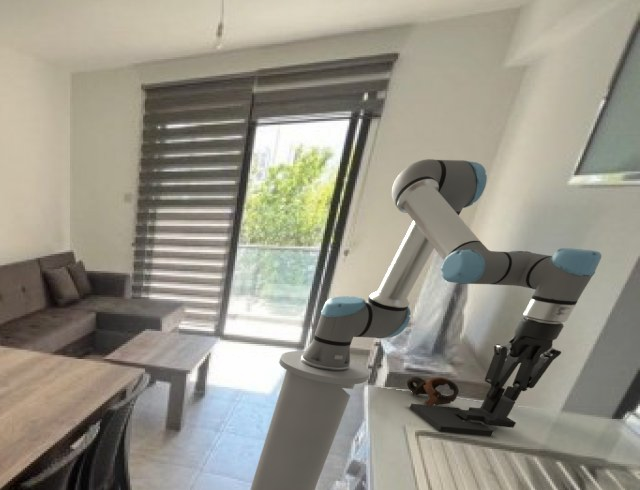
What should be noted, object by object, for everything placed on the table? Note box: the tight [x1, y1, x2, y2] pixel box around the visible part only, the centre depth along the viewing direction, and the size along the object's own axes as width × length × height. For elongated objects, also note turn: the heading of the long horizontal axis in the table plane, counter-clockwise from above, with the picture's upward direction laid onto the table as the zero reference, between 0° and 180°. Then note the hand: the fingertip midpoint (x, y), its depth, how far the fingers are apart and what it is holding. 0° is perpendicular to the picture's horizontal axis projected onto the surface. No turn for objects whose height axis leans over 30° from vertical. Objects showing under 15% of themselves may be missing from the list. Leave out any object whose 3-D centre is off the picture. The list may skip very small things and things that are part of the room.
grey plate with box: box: [458, 395, 517, 429], centre depth 122 cm, size 8×10×6 cm
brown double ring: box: [406, 376, 459, 406], centre depth 136 cm, size 12×10×8 cm
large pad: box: [409, 403, 494, 437], centre depth 125 cm, size 14×12×2 cm
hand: (494, 411), depth 122 cm, fingers closed on grey plate with box, 2 cm apart
